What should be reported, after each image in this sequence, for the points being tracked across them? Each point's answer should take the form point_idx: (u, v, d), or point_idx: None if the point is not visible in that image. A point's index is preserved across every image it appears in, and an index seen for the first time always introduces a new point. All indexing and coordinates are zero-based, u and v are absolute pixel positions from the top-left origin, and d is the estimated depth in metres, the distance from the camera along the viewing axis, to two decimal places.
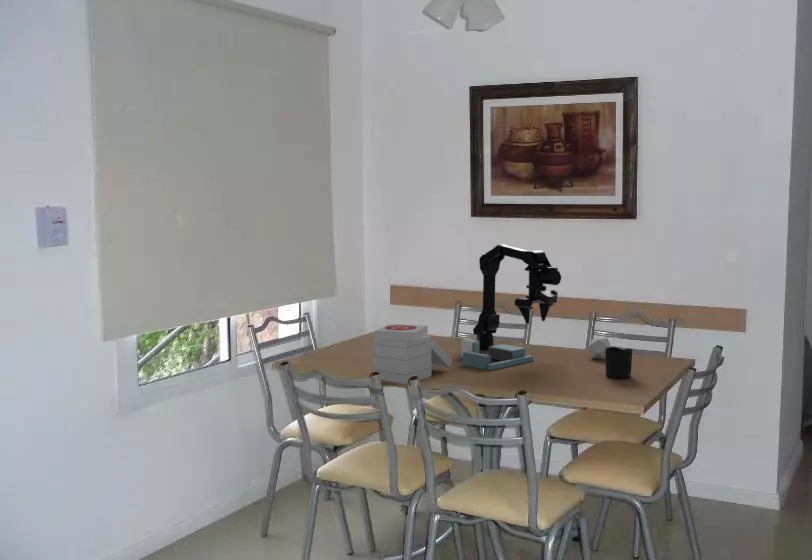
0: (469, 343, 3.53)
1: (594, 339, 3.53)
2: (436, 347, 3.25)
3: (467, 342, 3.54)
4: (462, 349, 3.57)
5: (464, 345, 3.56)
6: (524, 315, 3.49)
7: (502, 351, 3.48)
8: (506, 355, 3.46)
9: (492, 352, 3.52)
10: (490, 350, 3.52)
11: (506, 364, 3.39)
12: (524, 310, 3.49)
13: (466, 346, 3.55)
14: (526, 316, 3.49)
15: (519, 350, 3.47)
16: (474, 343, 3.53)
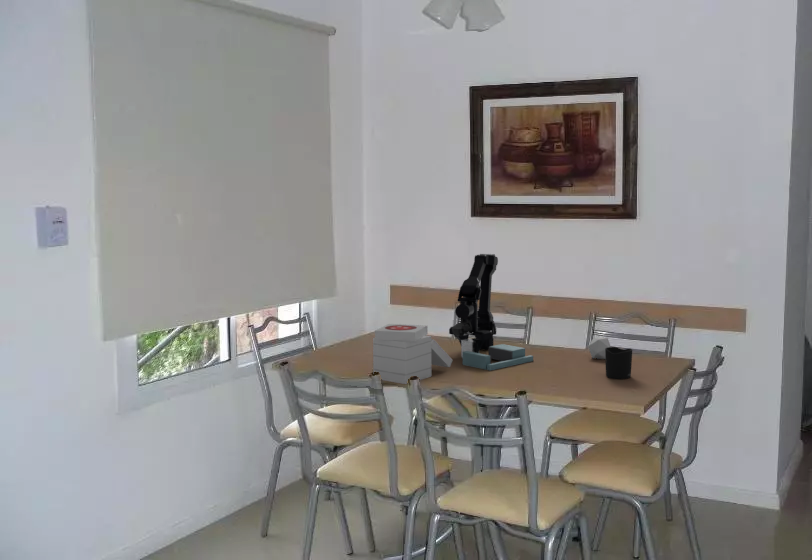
0: (469, 343, 3.53)
1: (594, 339, 3.53)
2: (436, 347, 3.25)
3: (467, 342, 3.54)
4: (462, 349, 3.57)
5: (464, 345, 3.56)
6: None
7: (502, 351, 3.48)
8: (506, 355, 3.46)
9: (492, 352, 3.52)
10: (490, 350, 3.52)
11: (506, 364, 3.39)
12: None
13: (466, 346, 3.55)
14: None
15: (519, 350, 3.47)
16: None
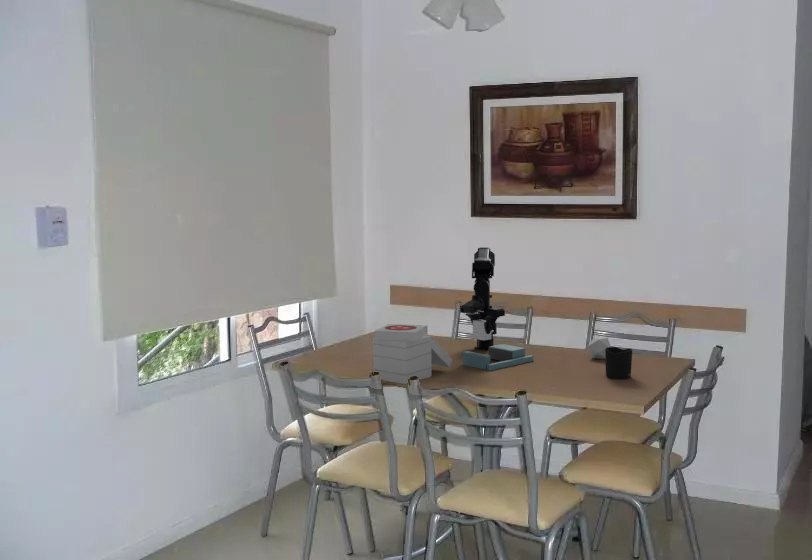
0: (481, 323, 3.41)
1: (594, 339, 3.53)
2: (436, 347, 3.25)
3: (479, 322, 3.42)
4: (473, 330, 3.44)
5: (475, 326, 3.43)
6: None
7: (502, 351, 3.48)
8: (506, 355, 3.46)
9: (492, 352, 3.52)
10: (490, 350, 3.52)
11: (506, 364, 3.39)
12: None
13: (477, 327, 3.42)
14: None
15: (519, 350, 3.47)
16: None
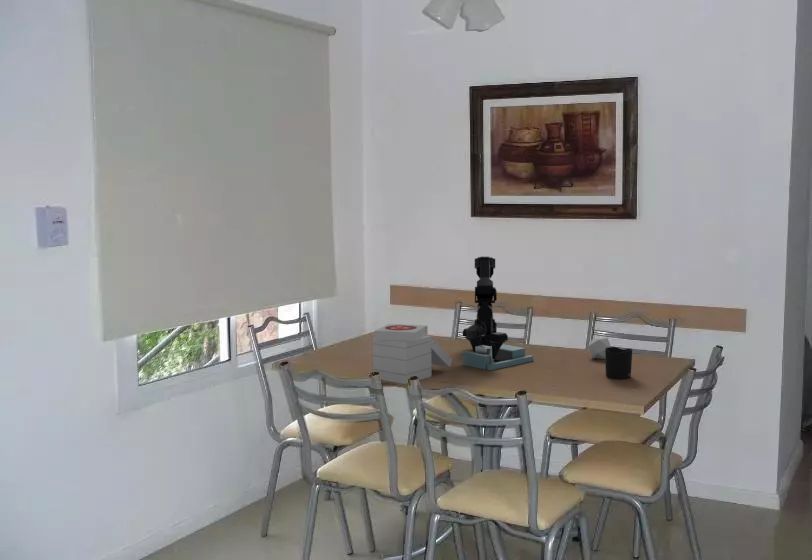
0: (484, 350, 3.40)
1: (594, 339, 3.53)
2: (436, 347, 3.25)
3: (481, 348, 3.41)
4: None
5: (478, 352, 3.43)
6: None
7: (502, 351, 3.48)
8: (506, 355, 3.46)
9: None
10: None
11: (506, 364, 3.39)
12: None
13: (480, 353, 3.42)
14: None
15: (519, 350, 3.47)
16: (489, 349, 3.40)
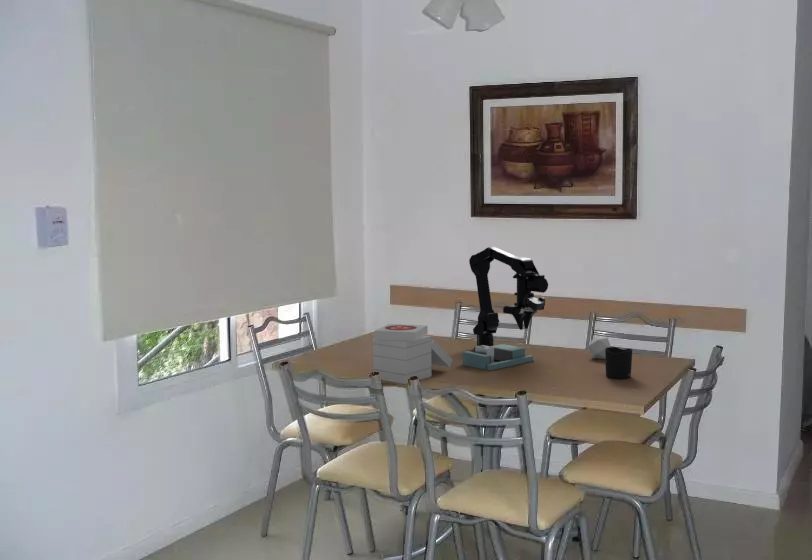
0: (484, 350, 3.40)
1: (594, 339, 3.53)
2: (436, 347, 3.25)
3: (481, 348, 3.41)
4: None
5: (478, 352, 3.43)
6: (518, 321, 3.55)
7: (502, 351, 3.48)
8: (506, 355, 3.46)
9: None
10: None
11: (506, 364, 3.39)
12: (517, 316, 3.55)
13: (480, 353, 3.42)
14: (520, 322, 3.55)
15: (519, 350, 3.47)
16: (489, 349, 3.40)
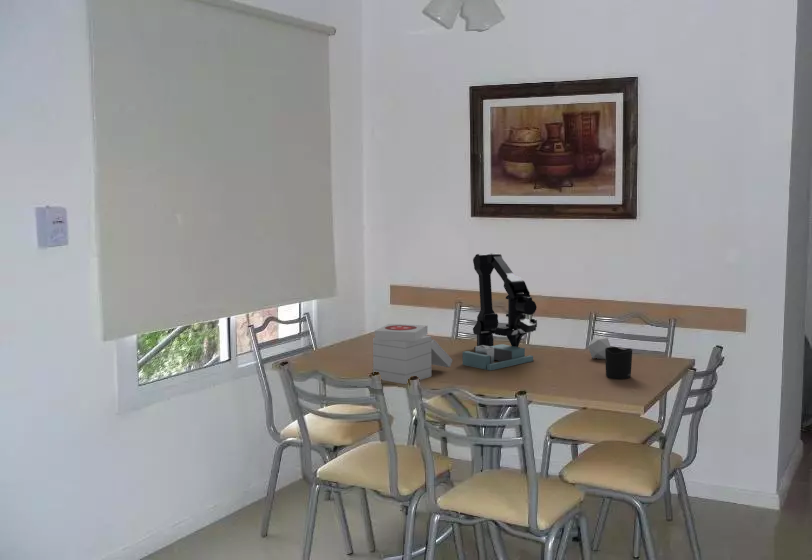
0: (484, 350, 3.40)
1: (594, 339, 3.53)
2: (436, 347, 3.25)
3: (481, 348, 3.41)
4: None
5: (478, 352, 3.43)
6: (511, 342, 3.54)
7: (502, 351, 3.47)
8: (505, 355, 3.46)
9: None
10: None
11: (506, 364, 3.39)
12: (511, 337, 3.54)
13: (480, 353, 3.42)
14: (513, 343, 3.53)
15: (519, 350, 3.47)
16: (489, 349, 3.40)
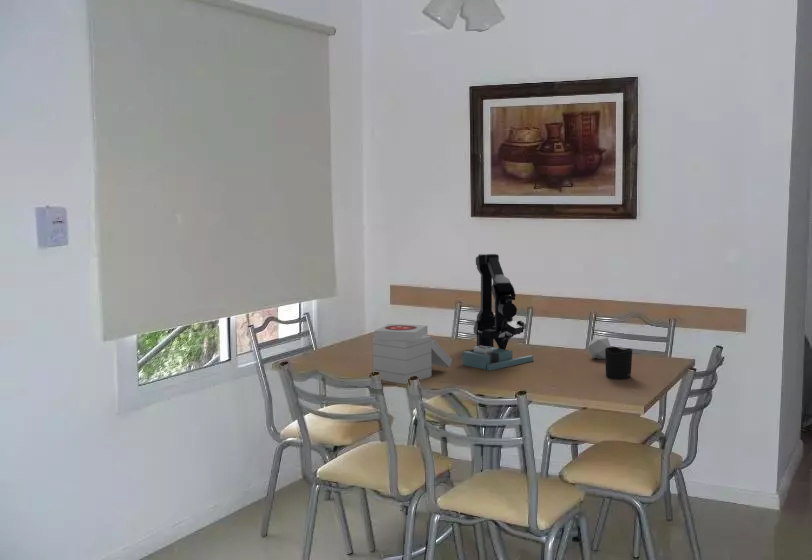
0: (482, 350, 3.40)
1: (594, 339, 3.53)
2: (436, 347, 3.25)
3: (479, 349, 3.40)
4: None
5: (476, 352, 3.42)
6: (499, 345, 3.49)
7: None
8: (493, 358, 3.41)
9: None
10: None
11: (506, 364, 3.39)
12: (499, 340, 3.49)
13: None
14: (501, 346, 3.48)
15: (506, 353, 3.42)
16: (487, 350, 3.39)
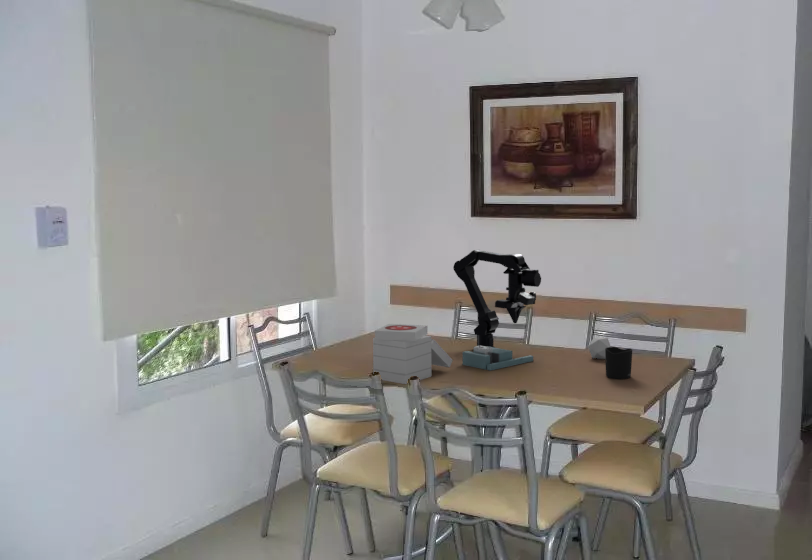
0: (482, 350, 3.40)
1: (594, 339, 3.53)
2: (436, 347, 3.25)
3: (479, 349, 3.40)
4: None
5: (476, 352, 3.42)
6: (511, 315, 3.65)
7: None
8: (493, 358, 3.41)
9: None
10: None
11: (506, 364, 3.39)
12: (511, 310, 3.64)
13: None
14: (513, 316, 3.64)
15: (506, 353, 3.42)
16: (487, 350, 3.39)
